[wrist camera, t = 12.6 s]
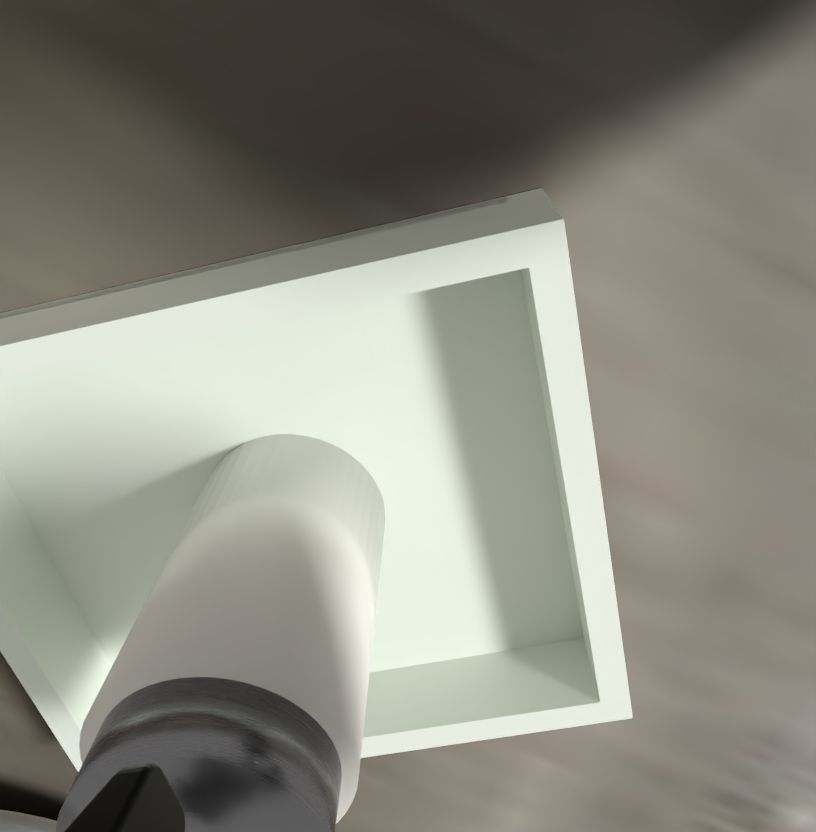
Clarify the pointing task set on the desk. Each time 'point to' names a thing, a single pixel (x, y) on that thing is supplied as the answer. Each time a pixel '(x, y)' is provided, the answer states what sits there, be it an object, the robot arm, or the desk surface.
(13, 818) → the serving bowl
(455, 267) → the tray
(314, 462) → the cylinder
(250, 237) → the desk surface
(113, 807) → the robot arm
